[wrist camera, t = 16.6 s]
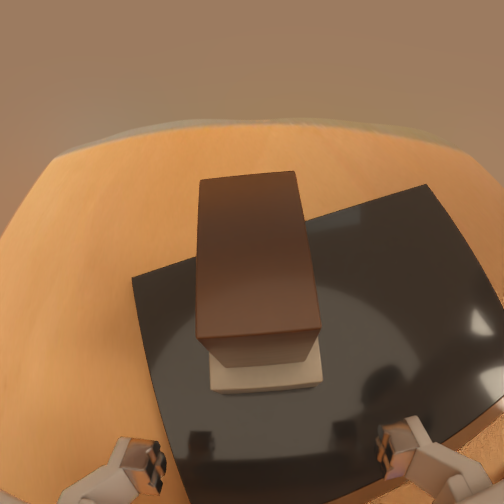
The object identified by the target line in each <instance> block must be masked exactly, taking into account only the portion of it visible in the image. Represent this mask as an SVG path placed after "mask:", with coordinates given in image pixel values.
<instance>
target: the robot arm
mask: <svg viewBox="0 0 504 504" xmlns="http://www.w3.org/2000/svg"><path fill="white" fill-rule="evenodd" d="M377 433H378V436H377V437H376V438H375V441H374V453H375V457H376V460H377V461H379V462H381V466H380V471H381V474H382V477H383V479H384V481H386V480H391V479H395V478H398V477H402V476H405V477H406V478H407V479H408V480H410V481H411V482H412V483H414V484H415V485H416V486H418V487H419V488H421V489H422V490H423V491H425V492H426V493H428V494H429V495H430V496H432V497H433V498H435V500H434V501H433V503H432V504H504V479H502V480H500V481H498V482H497V483H495V484H492V482H491V480H490V479H489V477H488V475H487V473H486V472H485V470H484V468H483V467H482V465H481V464H480V463H479V462H477V461H474V460H472V459H470V458H468V457H466V456H464V455H462V454H459V453H457V452H455V451H453V450H451V449H449V448H447V447H445V446H443V445H441V444H439V443H437V442H435V443H432V441H431V439H430V437H429V436H428V434H427V432H426V430H425V428H424V427H423V425H422V423H421V422H420V420H419V418H418V417H417V416H416V415H415V416H411V417H408V418H404V419H399V420H395V421H392V422H388V423H384V424H379V426H378V428H377ZM160 447H161V446H160V444H159V442H158V441H153V440H144V439H136V438H129V437H120V438H119V439H118V440H117V443H116V445H115V447H114V449H113V452H112V454H111V456H110V459H109V461H108V463H107V465H102V466H101V467H99V468H98V469H96V470H95V471H93V472H92V473H90V474H89V475H87V476H85V477H84V478H82V479H81V480H79V481H78V482H76V483H74V484H73V485H71V486H69V487H68V488H66V489H64V490H63V491H62V493H61V495H60V497H59V499H58V501H57V503H56V504H130V503H131V502H132V501H133V500H134V499H135V498H136V497H138V496H139V494H146V495H155V496H160V492H161V489H162V485H163V483H162V481H161V479H160V478H162V477H163V476H164V475H165V473H166V464H167V462H166V457H165V455H164V453H162V452H161V451H160ZM0 504H30V503H28V502H26V501H24V500H22V499H20V498H17V497H15V496H13V495H11V494H9V493H7V492H5V491H4V490H2V489H0Z"/></svg>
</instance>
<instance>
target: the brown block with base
mask: <svg viewBox="0 0 504 504" xmlns="http://www.w3.org/2000/svg"><path fill="white" fill-rule="evenodd" d="M321 328H322V324H321V317H320V310H319V303H318V296H317V290H316V284H315V277H314V271H313V265H312V259H311V253H310V248H309V242H308V236H307V231H306V225H305V220H304V215H303V209H302V204H301V199H300V194H299V189H298V184H297V179H296V174H295V172H294V171H286V172H273V173H261V174H250V175H240V176H230V177H221V178H212V179H204V180H200V184H199V203H198V225H197V253H196V312H195V336H196V339H197V340H198V341H199V342H200V343H201V344H202V345H203V346H204V347H205V348H206V349H207V350H208V351H209V367H210V389H211V390H212V391H214V392H217V393H219V394H239V393H256V392H269V391H281V390H291V389H300V388H309V387H316V386H317V385H318V384H320V383H321V382H322V381H323V374H322V366H321V357H320V349H319V341H318V334H319V332H320V330H321Z"/></svg>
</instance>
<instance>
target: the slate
mask: <svg viewBox="0 0 504 504" xmlns="http://www.w3.org/2000/svg"><path fill="white" fill-rule="evenodd" d="M305 225H306V231H307V236H308V242H309V248H310V253H311V259H312V265H313V271H314V277H315V284H316V290H317V296H318V303H319V310H320V317H321V324H322V328H321V330H320V332H319V334H318V341H319V349H320V357H321V366H322V374H323V381H322V382H321V383H320V384H318V385H317V386H316V387H309V388H300V389H291V390H281V391H269V392H256V393H239V394H219V393H217V392H214V391H212V390H211V389H210V367H209V351H208V350H207V349H206V348H205V347H204V346H203V345H202V344H201V343H200V342H199V341H198V340H197V339H196V336H195V312H196V257H193V258H190V259H187V260H184V261H181V262H178V263H175V264H172V265H169V266H166V267H163V268H160V269H157V270H154V271H151V272H148V273H145V274H142V275H139V276H136V277H133V278H132V285H133V291H134V297H135V303H136V309H137V314H138V320H139V325H140V330H141V335H142V340H143V345H144V349H145V354H146V359H147V363H148V367H149V371H150V376H151V380H152V384H153V388H154V392H155V395H156V399H157V403H158V407H159V410H160V414H161V417H162V421H163V424H164V428H165V431H166V434H167V437H168V441H169V444H170V447H171V450H172V453H173V456H174V459H175V462H176V465H177V468H178V471H179V474H180V476H181V479H182V482H183V485H184V487H185V490H186V493H187V495H188V498H189V500H190V503H191V504H364V503H367V502H369V501H371V500H373V499H375V498H377V497H379V496H381V495H383V494H385V493H387V492H389V491H391V490H393V489H395V488H397V487H398V486H400V485H402V484H404V483H406V482H407V481H409V480H408V479H407V478H406V477H405V476H402V477H398V478H395V479H391V480H386V481H384V479H383V477H382V474H381V471H380V466H381V462H379V461H377V460H376V457H375V453H374V441H375V438H376V437H377V436H378V433H377V428H378V426H379V424H384V423H388V422H392V421H395V420H399V419H404V418H408V417H411V416H415V415H416V416H417V417H418V418H419V420H420V422H421V423H422V425H423V427H424V428H425V430H426V432H427V434H428V436H429V437H430V439H431V441H432V443H435V442H437V443H439V444H441V445H443V446H445V447H447V448H449V449H451V450H453V451H456V450H458V449H459V448H460V447H462V446H463V445H464V444H466V443H467V442H468V441H470V440H471V439H472V438H474V437H475V436H476V435H477V434H479V433H480V432H481V431H482V430H484V429H485V428H486V427H487V426H489V425H490V424H491V423H492V422H493V421H495V420H496V419H497V418H498V417H499V416H500V415H501V414H503V413H504V309H503V306H502V304H501V302H500V300H499V298H498V296H497V295H496V293H495V291H494V289H493V287H492V285H491V283H490V281H489V279H488V278H487V276H486V274H485V272H484V270H483V269H482V267H481V265H480V263H479V262H478V260H477V258H476V257H475V255H474V253H473V252H472V250H471V248H470V247H469V245H468V244H467V242H466V240H465V239H464V237H463V236H462V234H461V232H460V231H459V229H458V228H457V226H456V225H455V223H454V222H453V220H452V219H451V217H450V216H449V215H448V213H447V212H446V210H445V209H444V207H443V206H442V205H441V203H440V202H439V200H438V199H437V198H436V196H435V195H434V194H433V192H432V191H431V189H430V188H429V187H428V185H427V184H424V185H421V186H417V187H414V188H411V189H408V190H404V191H401V192H398V193H394V194H391V195H388V196H385V197H381V198H378V199H375V200H372V201H368V202H365V203H362V204H359V205H356V206H352V207H349V208H346V209H343V210H339V211H336V212H333V213H330V214H327V215H324V216H320V217H317V218H314V219H311V220H308V221H305Z"/></svg>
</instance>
